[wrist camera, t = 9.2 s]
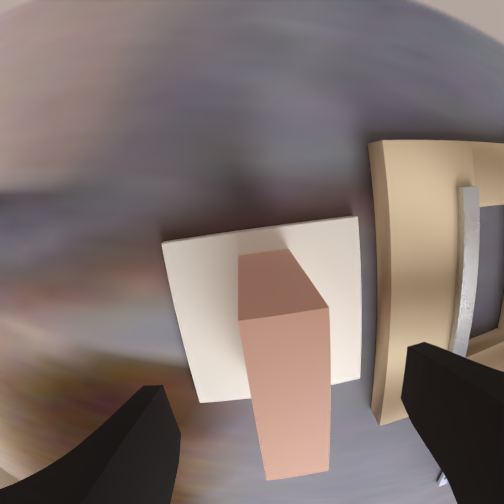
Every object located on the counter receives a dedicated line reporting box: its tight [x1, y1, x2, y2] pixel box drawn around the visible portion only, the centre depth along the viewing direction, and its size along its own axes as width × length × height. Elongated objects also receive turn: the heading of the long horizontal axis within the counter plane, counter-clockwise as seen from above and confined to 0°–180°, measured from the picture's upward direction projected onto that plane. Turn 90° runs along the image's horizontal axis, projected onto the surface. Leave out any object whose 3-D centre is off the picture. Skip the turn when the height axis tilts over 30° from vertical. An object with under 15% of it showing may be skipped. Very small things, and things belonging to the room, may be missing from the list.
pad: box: [161, 215, 362, 403], centre depth 14 cm, size 8×8×1 cm
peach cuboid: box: [238, 249, 331, 480], centre depth 10 cm, size 6×2×6 cm, turn 7°
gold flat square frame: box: [368, 140, 504, 426], centre depth 13 cm, size 14×14×2 cm
